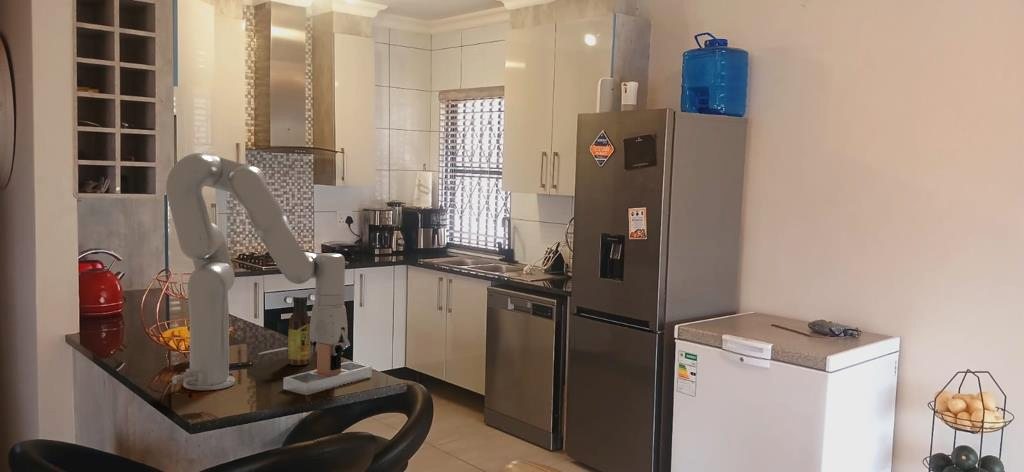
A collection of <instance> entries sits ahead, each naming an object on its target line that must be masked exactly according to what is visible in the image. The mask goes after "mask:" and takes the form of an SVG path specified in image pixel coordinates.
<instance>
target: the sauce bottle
mask: <svg viewBox="0 0 1024 472" xmlns="http://www.w3.org/2000/svg"><path fill="white" fill-rule="evenodd" d="M292 301H293V310H292V311H293V313H292V314H291V315H290V317H289V319H288V321H289V323H288V333H287V334H288V340H287V346H288V347H287V348H288V350H287V358H288V364H289V365H290V366H304V365H305V366H306V365H308V364H309V363H310V359H311V340H310V339H309V336H310V321H311V318H310V316H309V313H308V309H307V308H308V305H307V304H308V303H307V302H308V296H307V295H294V296H293V297H292Z"/></svg>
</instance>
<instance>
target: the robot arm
mask: <svg viewBox="0 0 1024 472" xmlns="http://www.w3.org/2000/svg"><path fill="white" fill-rule="evenodd" d="M165 185H166V186H165V191H166V197H167V202H168V206H169V208H170V213H171V217H172V222H173V224H174V228H175V231H176V235H177V240H178V244H179V248H180V251H181V252H182V253H183V255H185V257H187V258H188V259H191V260H192V263H193V266H194V270H193V271H192V272H191V273H190V275H189V279H188V282H187V298H188V300H187V301H188V310H189V368H186V369H185V372H184V373H183V374H178V375H174V376H172V379H171V381H172V383H173V384H175V385H176V384H179V383H182V382H183V387H184V389H187V390H193V391H215V390H222V389H226V388H230V387H232V386H233V385H235V383H236V378H235V377H234V376H232V375H230V316H229V315H230V314H229V313H230V311H229V295H228V294H229V291H230V290H231V289H232V287H233V285H234V283H235V278H236V277H235V276H236V275H235V269H234V267H233V263H232V259H231V256H230V253H229V249H228V245H227V241H226V237H225V235H224V233H223V231H222V229H221V228H220V227H219V226H218V225H216V224H215V223H214V222H211V219H210V215H209V213H208V207H207V204H206V201H205V199H204V196H203V195H204V194H203V188H204V187H209V188H213V189H216V190H219V191H223V192H227V193H229V194H230V193H231V194H232V195H233V197H234V198H235V200H236V201H237V202H238V205H239V206H240V207H241V208H242V211H244V213H245V214H246V216H247V218H248V219H249V220H250V222H251V224H252V225H253V227H254V229H255V230H256V232H257V234H258V236H259V238H260V240H261V241H262V243H263V244H264V246H265V248H266V250H267V252H268V254H269V255H270V257H271V258H272V260H273V262H274V263H275V265H276V266H277V269H279V271H280V272H281V274H282V275H283V277H284V278H286V280H287V281H288V282H290V283H291V284H292V283H293V284H295V285H302V284H305V283H307V282H309V280H310V279H315V286H314V287H315V293H314V298H315V299H314V304H313V305H312V309H311V314H310V336H309V339H310V342H312V345H313V346H314V348H315V349H314V350H315V352H316V353H317V343H318V342H319V343H324V344H328V345H331V348H332V354H333V355H331V370H337V369H340V368H341V363H342V355H343V354H344V352H345V350H346V349H347V348H348V347H350V346H351V343H350V341H349V339H348V318H347V315H348V314H347V309H346V306H345V285H346V284H345V283H346V282H345V279H346V277H345V276H346V269H345V268H346V260H345V256H344V255H343V254H341V253H336V252H333V253H332V252H329V253H328V252H327V253H326V252H324V253H315V252H310V251H304V250H303V248H302V247H301V245H300V243H299V242H298V240H297V239H296V237H295V235H294V234H293V231H292V229H291V226H290V223H289V220H288V219H289V218H288V216H287V213H286V211H285V210H284V208H283V207H282V205H281V204H280V202H279V201H278V199H277V197H276V196H275V195H274V193H273V192H272V190H271V188H270V187H269V185H268V184H267V179H266V176H265V174H264V172H263V171H262V170H261V169H260V168H258V167H256V166H254V165H249V164H245V163H242V162H238V161H234V160H231V159H227V158H224V157H222V156H221V157H220V156H217V155H214V154H211V153H210V154H209V153H201V152H194V153H190V154H188V155H187V154H186V156H184V157H182V158H181V159H180V160H179V161H177V162H176V163H175V164H174V165H173V167H172V168H171V169H170V171H169V173H168V175H167V179H166V184H165ZM336 345H338V348H337V349H336Z"/></svg>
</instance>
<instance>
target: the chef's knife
mask: <svg viewBox="0 0 1024 472" xmlns="http://www.w3.org/2000/svg"><path fill="white" fill-rule="evenodd" d="M281 351H288V347H280V348H276V349H271V350H266V351H261V352H259V353H258V355H262V354H269V353H276V352H281Z"/></svg>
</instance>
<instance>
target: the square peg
mask: <svg viewBox="0 0 1024 472" xmlns="http://www.w3.org/2000/svg"><path fill="white" fill-rule="evenodd" d="M337 348H338V345H336V349H337ZM331 355H333V354H332V348H331V345H328V344H324V343H319V342H318V343H317V352H316V356H317V357H316V370H317V374H321V375H325V376H332V375H336V374H339V373H341V368H340V369H337V370H331Z"/></svg>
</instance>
